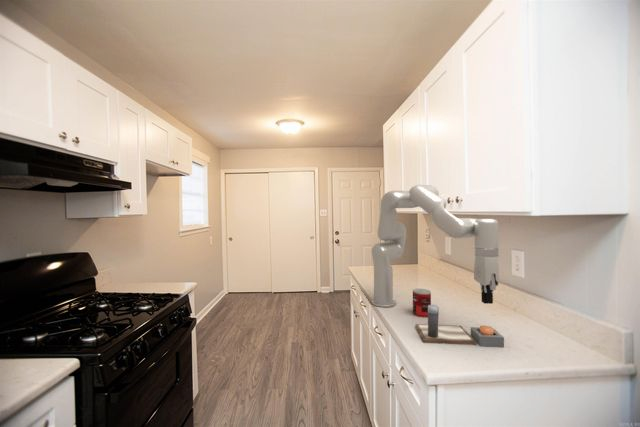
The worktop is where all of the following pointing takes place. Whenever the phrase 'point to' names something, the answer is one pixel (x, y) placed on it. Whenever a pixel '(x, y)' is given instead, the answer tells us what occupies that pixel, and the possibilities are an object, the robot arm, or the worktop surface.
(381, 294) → the robot arm
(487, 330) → the button
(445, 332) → the board
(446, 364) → the worktop surface
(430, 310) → the grey tall cylinder
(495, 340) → the button housing
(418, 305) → the canned food
